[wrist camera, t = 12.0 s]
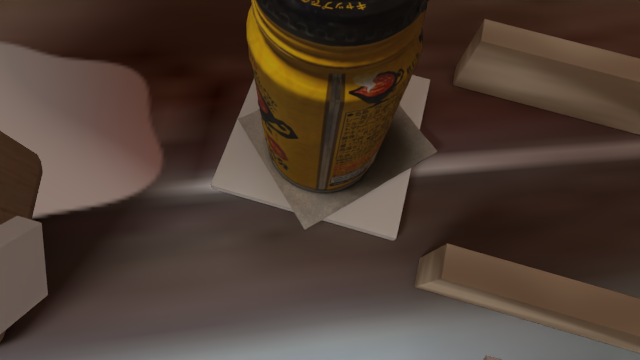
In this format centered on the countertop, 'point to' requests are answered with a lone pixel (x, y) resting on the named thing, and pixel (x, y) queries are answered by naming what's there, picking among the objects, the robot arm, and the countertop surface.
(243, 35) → the countertop surface
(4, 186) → the block
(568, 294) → the open wooden frame
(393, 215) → the trivet
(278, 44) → the condiment
